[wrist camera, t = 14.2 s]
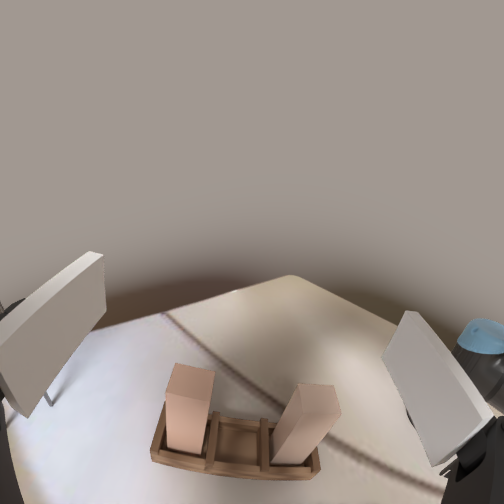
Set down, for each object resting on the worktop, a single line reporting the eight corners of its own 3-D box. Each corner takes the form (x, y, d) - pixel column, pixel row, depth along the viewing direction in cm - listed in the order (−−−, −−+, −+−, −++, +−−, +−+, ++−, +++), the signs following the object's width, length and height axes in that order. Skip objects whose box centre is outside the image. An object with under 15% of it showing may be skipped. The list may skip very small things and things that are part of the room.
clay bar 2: (268, 440, 33) (298, 383, 28) (297, 441, 33) (333, 385, 28) (268, 464, 29) (303, 412, 24) (299, 465, 29) (341, 413, 24)
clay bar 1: (173, 425, 32) (175, 362, 27) (204, 432, 32) (215, 371, 28) (167, 449, 28) (165, 392, 23) (200, 456, 28) (210, 402, 23)
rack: (304, 434, 36) (312, 421, 34) (310, 479, 27) (320, 469, 26) (165, 414, 34) (165, 400, 33) (152, 461, 26) (149, 450, 25)
